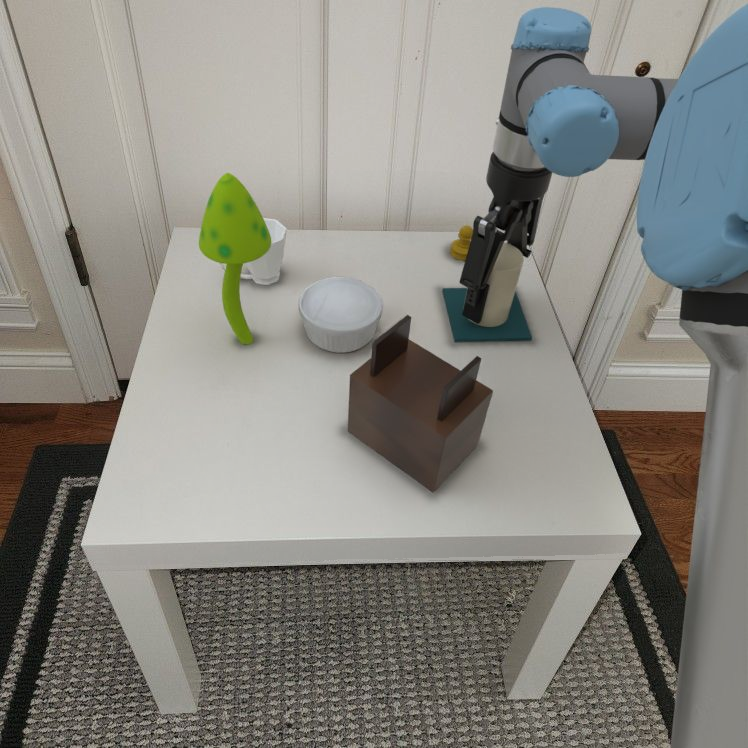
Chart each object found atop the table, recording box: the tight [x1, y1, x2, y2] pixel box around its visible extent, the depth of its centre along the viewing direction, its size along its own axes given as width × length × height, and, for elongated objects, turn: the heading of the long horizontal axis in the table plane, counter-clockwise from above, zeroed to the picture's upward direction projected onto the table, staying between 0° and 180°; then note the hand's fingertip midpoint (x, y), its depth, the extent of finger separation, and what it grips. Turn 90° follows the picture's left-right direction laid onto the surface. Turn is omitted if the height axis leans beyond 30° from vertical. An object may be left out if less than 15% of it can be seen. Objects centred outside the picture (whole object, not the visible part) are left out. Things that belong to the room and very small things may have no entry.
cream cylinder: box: [463, 241, 525, 327], centre depth 91 cm, size 7×7×10 cm
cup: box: [219, 217, 288, 286], centre depth 95 cm, size 7×10×8 cm
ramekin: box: [297, 276, 384, 354], centre depth 89 cm, size 11×11×5 cm
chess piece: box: [449, 225, 473, 262], centre depth 104 cm, size 4×4×5 cm
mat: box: [441, 287, 533, 343], centre depth 95 cm, size 11×11×1 cm
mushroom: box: [198, 172, 271, 345], centre depth 80 cm, size 8×8×25 cm
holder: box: [347, 314, 494, 493], centre depth 74 cm, size 13×9×15 cm
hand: (487, 304), depth 94 cm, fingers open, 7 cm apart
